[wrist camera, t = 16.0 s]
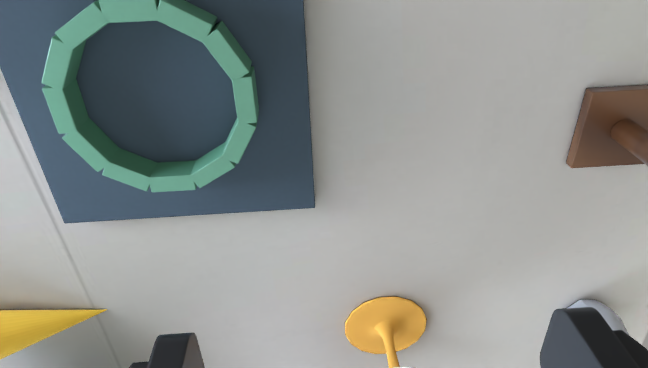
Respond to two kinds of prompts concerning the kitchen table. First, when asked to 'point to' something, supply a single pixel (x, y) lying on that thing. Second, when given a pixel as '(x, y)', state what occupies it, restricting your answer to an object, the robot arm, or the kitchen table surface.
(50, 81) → the ring
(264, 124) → the mat
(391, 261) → the kitchen table surface
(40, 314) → the ice cream cone
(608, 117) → the ring toss
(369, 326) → the cup
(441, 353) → the kitchen table surface
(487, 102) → the kitchen table surface
